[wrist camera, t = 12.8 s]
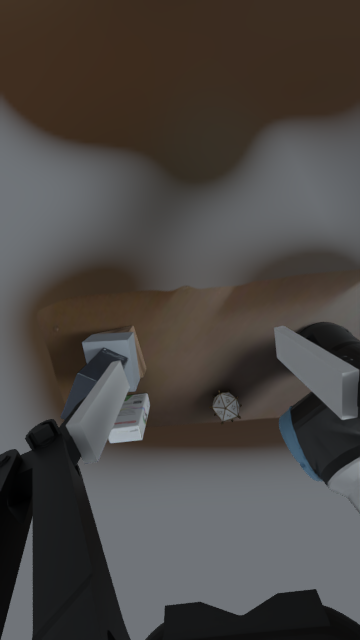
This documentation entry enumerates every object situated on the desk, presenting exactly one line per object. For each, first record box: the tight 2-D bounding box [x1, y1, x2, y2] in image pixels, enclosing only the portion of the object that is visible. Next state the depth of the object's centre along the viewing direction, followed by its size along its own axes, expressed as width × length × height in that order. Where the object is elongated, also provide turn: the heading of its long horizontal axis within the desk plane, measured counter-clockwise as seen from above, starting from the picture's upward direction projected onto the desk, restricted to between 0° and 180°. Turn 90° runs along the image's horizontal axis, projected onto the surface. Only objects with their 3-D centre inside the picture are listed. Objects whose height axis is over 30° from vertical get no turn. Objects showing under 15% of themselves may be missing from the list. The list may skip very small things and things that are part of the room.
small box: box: [61, 347, 128, 420], centre depth 37 cm, size 11×6×10 cm, turn 154°
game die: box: [209, 390, 242, 424], centre depth 51 cm, size 9×8×10 cm
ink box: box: [108, 393, 150, 443], centre depth 50 cm, size 8×5×12 cm, turn 99°
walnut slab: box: [97, 326, 146, 378], centre depth 49 cm, size 10×13×5 cm
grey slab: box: [82, 332, 140, 392], centre depth 44 cm, size 10×13×5 cm
